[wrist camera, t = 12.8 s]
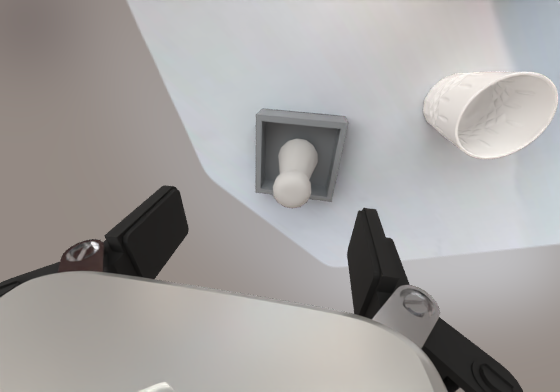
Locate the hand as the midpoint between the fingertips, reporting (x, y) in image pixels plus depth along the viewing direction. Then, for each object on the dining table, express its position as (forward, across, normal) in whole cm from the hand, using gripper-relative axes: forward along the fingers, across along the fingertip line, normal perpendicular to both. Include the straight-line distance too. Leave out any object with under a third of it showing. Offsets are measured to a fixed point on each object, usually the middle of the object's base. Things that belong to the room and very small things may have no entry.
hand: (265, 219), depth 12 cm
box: (+25, 0, +6) cm, 26 cm away
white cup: (+26, -19, -2) cm, 32 cm away
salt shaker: (+25, 0, +6) cm, 25 cm away
